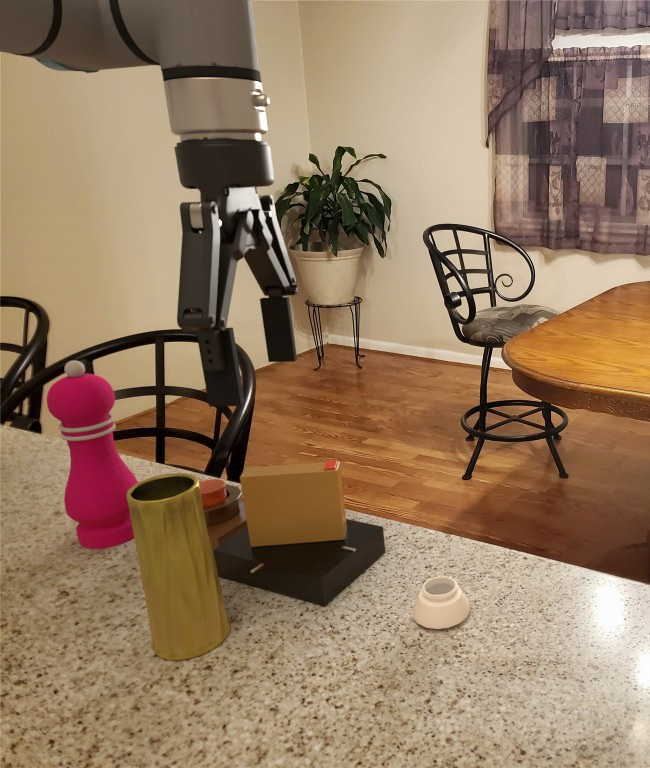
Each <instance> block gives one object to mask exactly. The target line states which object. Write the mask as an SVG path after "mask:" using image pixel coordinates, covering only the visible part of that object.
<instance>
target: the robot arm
mask: <svg viewBox="0 0 650 768" xmlns="http://www.w3.org/2000/svg"><path fill="white" fill-rule="evenodd" d="M253 8H254V7H253V0H0V53H5V54H6V53H7V54H10V55H15V56H22V57H25V58H30V59H31V58H32V59H35V60H36V61H37V62H38V63H40V64H41V65H43V67H45V68H48V69H51V70H54V71H58V72H82V73H86V74H92V73H99V71H104V70H115V69H125V68H128V69H129V68H136V67H137V68H138V67H148V66H149V67H150V66H159V67H160V71H161V74H162V82H163V87H164V95H165V102H166V107H167V114H168V119H169V120H168V121H169V127H170V128H169V129H170V132H171V133H172V134H173V135H175V136H179V139H180V141H179V142H177V143H176V146H174V147H173V148H174V154H175V159H176V160H175V161H176V167H177V172H178V177H179V183H180V185H181V187H183V188H185V189H187V190H198V191H199V193H200V195H199V197H200V198H199V199H200V201H185V202H184V201H183V202H181V203H180V205H179V214H180V215H179V216H180V222H181V232H182V235H181V249H180V263H179V264H180V265H179V280H178V282H179V283H178V295H177V296H178V298H177V310H176V311H177V312H176V323H177V326H178V327H179V329H181V331H182V332H196V339H197V345H198V350H199V355H200V363H201V367H202V373H203V378H204V379H203V380H204V384H205V390H206V391H205V392H206V395H207V403H208V407H211V408H212V407H213V408H215V407H242V406H243V405H244V404H245V403H246V402H245V396H244V390H243V383H242V377H241V371H240V363H239V356H238V351H237V344H236V338H235V331H234V327H227V325H228V320H229V313H230V308H231V302H232V296H233V291H234V285H235V279H236V273H237V267H238V262H239V261H240V260H242V259H243V258H244V260H245V262H246V264H247V267H248V268H249V270H250V272H251V273H252V276H253V277H254V279H255V281H256V283H257V284H258V287H259V289H260V290H261V292H262V294H263V295H264V296H265V297H261V298H259V304H260V309H261V310H260V311H261V317H262V325H263V331H264V340H265V347H266V353H267V360H268V363H287V362H288V363H290V362H291V363H292V362H296V361H297V360H298V356H297V348H296V339H295V333H294V323H293V316H292V310H291V300H290V297H289V296H298V294H299V287H298V284H297V278H296V276H295V273H294V269H293V266H292V263H291V259H290V256H289V253H288V250H287V247H286V244H285V240H284V237H283V234H282V231H281V227H280V224H279V221H278V218H277V211H276V206H275V200H274V197H273V195H272V194H261V195H259V193H258V191H257V189H258V188H260V187H262V188H263V187H270V186H272V185H274V183H275V173H274V163H273V156H272V149H271V145H270V144H268V141H265V140H262V135H265V134H266V133H267V132H268V124H267V123H268V122H267V114H266V109H265V108H266V107H268V106H269V105H270V103H271V102H270V101H271V100H270V98H269V96H268V95H267V94H266V93H265V94H264V91H263V84H262V76H261V71H260V64H259V63H260V62H259V55H258V47H257V37H256V28H255V20H254V10H253Z"/></svg>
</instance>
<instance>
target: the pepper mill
mask: <svg viewBox="0 0 650 768" xmlns="http://www.w3.org/2000/svg"><path fill="white" fill-rule="evenodd" d="M85 371H86V368H85V365H84V363H82V362H81V361H80V360H73V359H72V360H70V361H67V362H66V364H65V365H64V371H63V372H64V373H65V374H66V375H67V376H63V377H61V378H60V379H58V380H57V381H55V382H54V383H53V384H52V385H51V386H50V388H49V389H48V391H47V394H46V407H47V410H48V412H49V413H50V415H51V416H53V418H55V419H57V420H58V421H59V422H60V424H58V430H59V431H60V438H61V439H62V440H64V441H66V443H67V446H68V448H69V456H70V467H69V474H68V478H67V481H66V486H65V489H64V498H63V502H64V509H65V513H66V515H67V516H68V517H69V518H70V519H71V520H73V521H74V522H76V523H78V524H77V525H76V529H75V531H76V535H77V540H78V543H79V545H80V546H82V547H83V548H86V549H91V550H98V549H99V550H100V549H107V548H112V547H115V546H119V545H123V544H125V543H127V542H128V541H129V542H130V541H131V540H133V539H135V537H134V532H133V527H132V521H131V515H130V510H129V505H128V502H127V492H128V490H129V489H130V488H131V487H133V486H134V485H135V484H137V483H139V482H140V481H138V479H137V477H136V475H135V474H134V473H133V472H132V471H131V469H130V468H129V467H128V466H127V465H126V463H125V461H124V460H123V459H122V458H121V455H120V453H119V451H118V450H117V448H116V443H115V440H114V433H113V431H114V430H115V429H116V427H117V426H116V423H115V421H114V420H115V417H114V415H113V414H111V413H110V412H111V411H112V410H113V408H114V405H115V403H116V394H115V391H114V389H113V387H112V384H111V383H110V382H109V381H108V380H107V379H105V378H104V377H103V376H100V375H97V374H92V373H85Z"/></svg>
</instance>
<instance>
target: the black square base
mask: <svg viewBox="0 0 650 768" xmlns="http://www.w3.org/2000/svg"><path fill="white" fill-rule="evenodd" d="M346 523H347V531H346V536H345V540H333V541H321V542H308V543H295V544H282V545H270V546H257V547H251V545H250V538H249V532H248V528H247V529H246V530H244V531H242V532H241V533H239V534H238V535H236V536H235V537H233V538H232V539H230V540H228V541H227V542H225V543H224V544H222V545H221V546H219V547H218V548H216V549H214V550H213V553H214V558H215V562H216V567H217V572H218V577H219V579H223V580H227V581H231V582H233V583H234V582H235V583H237V584H241V585H244V586H249V587H252V588H256V589H259V590H261V591H266V592H270V593H273V594H277V595H281V596H284V597H288V598H292V599H296V600H298V601H301V602H302V601H303V602H306V603H309V604H313V605H316V606H320V607H326V606H328V604H329V603H331V601H333V600H334V599H335V598H336V597H337V596H339V594H340V593H342V592H343V591H344V590H345V589H346V588H347V587H349V586H350V585H351V584H352V583H353V582H354V581H355V580H357V578H358V577H360V575H362V574H363V573H364V572H365V571H366V570H367V569H369V568H370V567H371V566H372V565H373V564H375V562H376V561H377V560H379V558H381V557H382V556H383V555H384V554H385V553H386V544H385V533H384V526H381V525H376V524H373V523H369V522H363V521H358V520H354V519H348V518H346Z"/></svg>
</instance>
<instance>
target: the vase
mask: <svg viewBox="0 0 650 768" xmlns="http://www.w3.org/2000/svg"><path fill="white" fill-rule="evenodd" d="M138 482H139V483H137V484H135V485H134V486H133V487H131V488H130V489H129V490H128V492H127V502H128V505H129V510H130V515H131V521H132V527H133V532H134V542H135V548H136V554H137V559H138V565H139V571H140V577H141V582H142V588H143V592H144V593H143V594H144V599H145V603H146V610H147V617H148V622H149V629H150V635H151V648H152V651H153V652H154V654H155V655H156V656H157V657H158V658H160V659H163V660H167V661H187V660H190V659H194V658H197V657H200V656H202V655H205V654H207V653H210V652H211V651H212V650H214V649H215V648H218V647H219V646H220V645H221V644H222V643H223V642H224V641H225V639H227V637H228V635H229V633H230V631H231V622H230V619H229V617H228V615H227V612H226V606H225V601H224V596H223V591H222V586H221V582H220V578H219V577H218V572H217V567H216V562H215V558H214V553H213V549H212V546H211V543H210V539H209V536H208V532H207V526H206V520H205V515H204V510H203V505H202V498H201V489H200V484H199V482H200V481H199V479H198V477H196V476H195V475H193V474H190V473H183V472H175V473H166V474H165V473H164V474H160V475H157V476H152V477H148V478H146V479H143V480H141V481H138Z"/></svg>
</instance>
